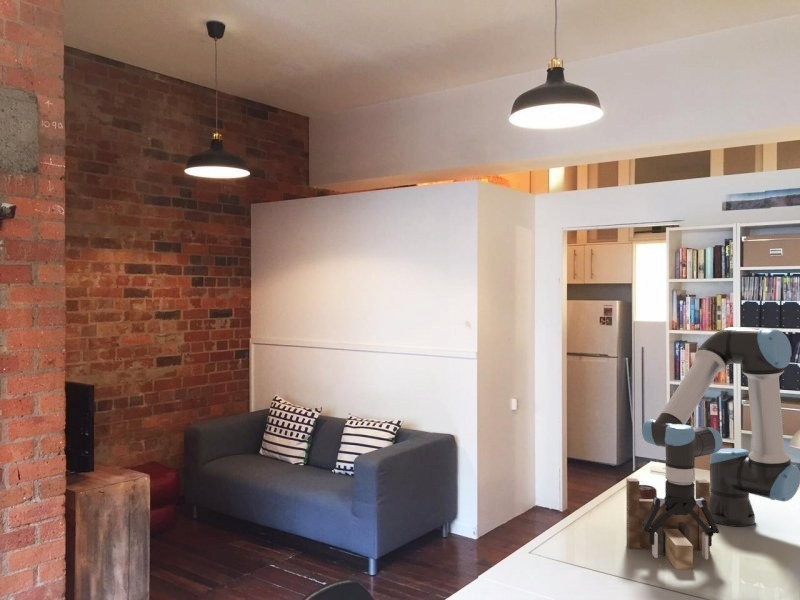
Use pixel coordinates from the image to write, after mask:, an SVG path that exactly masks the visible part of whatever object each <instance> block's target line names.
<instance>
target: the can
mask: <svg viewBox="0 0 800 600" xmlns="http://www.w3.org/2000/svg"><path fill="white" fill-rule="evenodd" d="M657 492H658V491H657V489H656V488H655V487H654V486H652V485H648V484H639V499H654V497H655V496H656V497H658V495H657V494H658V493H657Z"/></svg>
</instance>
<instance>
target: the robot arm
mask: <svg viewBox="0 0 800 600" xmlns="http://www.w3.org/2000/svg"><path fill="white" fill-rule="evenodd" d="M694 358H695V360H694V361H693V363H692V364H691V367H690V368H689V370H688V371H687V373H686V375H684V377H683V378H682V380H681V382H680V383H679V385H678V387H677V388H676V389H675V391H674V392H673V394H672V396H671V397H670V399H669V400H668V402H667V403H666V405H665V406H664V408H663V410H662V411H661V413H660V414H659V416H658V417H657V418H653V419H651V418H650V419H647V420H646V421H645V422H644V423H643V425H642V427H641V428H642V429H641V436H642V438H643V440H644V441H645V442H646V443H648V444H651V445H654V446H657V447H661V448H662V447H663V448H665V479H666V480H665V483H664V484H665V485H664V486H665V488H664V489H665V490H664V491H665V492H664V493H665V496H664V498H661V497H658V496H657V497H656V496H655V497H654V499H653V505H652V507H651V509H650V511H649V512H648V514H647V516H646V518H645V520H644V522H643V524H642V528H643V530H644V531H646V532H648V533H649V543H650V545H652V549H651V553H652V557H654V559H658V558H659V557H658V556H659V555H658V535H657V533H656V531H657V530H658V529H659V528H660V526H661V525H662V524H663V523H664V522H665V521H666V520H667V519H668V518H669V517H670V516H671V515H672V514H675V515H688V514H689V513H690V515H691V516H692V517H693V518H694V519H695V520H696V521H697V523H698V524H699V525H700V526H701V527H702V528H703V530H704V531H705V532H702V551H701V556H702V557H703V559H705V560H709V551H708V546H710V547H712V546H713V544H712V543H713V541H712V540H713V539H712V538H713V536H714V534H719V533H720V530H719V528H718V526H717V524H719V525H723V526H730V527H748V526H752V525H754V524H755V522H756V514H755V512H754V509H753V505H752V503H751V500H750V494H752V495H755V496H758V497H762V498H764V499H765V498H766V499H770V500H771V501H778V502H788V501H790V500H791V499H792V498H793V497H795V495H796V493H797V491H798V490H799V487H800V469H799V467H798V466H796V465H795V464H792V461H791V459H792V458H791V455H790V454H789V453H787V452H786V451H785V441H784V429H783V415H782V403H781V400H782V399H781V390H780V376H781V375H782V374H783V373H784V372H785V368H786V367H788V366H789V365H790V362H791V358H792V345H791V343H790V340H789V338H788V337H787V335H786V334H785V333H784V332H782V330H779V329H776V328H775V329H774V328H768V327H743V326H742V327H740V326H730V327H726V328H723V329H721V330H718V331H716V332H715V333H714V334H712V335H711V336H709V338H707V339H705V340H704V342H703V343H702V344H701V345H700V347H699V348H698V350H697V351H696V353H695V354H694ZM731 364H738V365H740V366H741V373H742V374H744V376H746V377H747V387H748V402H749V412H750V413H749V414H750V426H751V439H752V451H749V450H748V449H745V448H736V447H733V448H732V447H729V448H728V447H726V448H722V447H723V436H722V434H721V433H720V432H719V431H718V430H717V429H716V428H714V427H709V426H708V427H706V426H702V427H695V426H691V425H688V424H687V422H688V421H689V419H690V418H691V416H692V415H693V413H694V412H695V410H696V408H698V405H699V404H700V402H701V400H702V399H703V397H704V396H705V394H706V392H707V391H708V389H709V388H710V386H711V385H712V383H713V382H714V380H715V378H716V376H717V375H718V373H720V372H723V371H724V370H725V369H726V368H727V366H728V365H731ZM702 456H710V457H709V463H708V464H709V482H710V512H709V510H708V508H707V501H706V500H705V499H704V498H702V497H701V498H699V499H696V483H694V482H696V479H695V475H696V473H695V461H696V459H695V458H699V457H702ZM663 503H665V505H666V507H665V508H664V510H663V512H662V513H661V514H660V515H659V516H658V517H657V519H656V520H655V521H654V522H653V520H654V518H655V516H656V514H657V512H658V510H659V508H660V506H662V504H663ZM696 504H698V506H699V507H701V509H702V511H703V513H704V515H705V517H706V519H707V521H708V523H709V525H710V528H708V527H707V526H706V525H705V524H704V522H703V521H702V520H701V519H700V518H699V517H698V515H697V514H696V513H695V512H694V511H693V508H694V507H695V505H696ZM652 522H653V523H652Z"/></svg>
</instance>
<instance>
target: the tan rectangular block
mask: <svg viewBox="0 0 800 600" xmlns="http://www.w3.org/2000/svg"><path fill="white" fill-rule="evenodd" d="M663 555H665V556H666V558H667V559H668V560H669V562H670V564H672V566H673V567H674V568H675V570H694V550H693V545H692V544H691V543H690V542H689V541H688V540H687V539H686V538H685V536H684V535H683V534H682V533H681V532H680V531H679V530H678V527H663Z"/></svg>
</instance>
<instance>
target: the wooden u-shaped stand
mask: <svg viewBox="0 0 800 600" xmlns="http://www.w3.org/2000/svg"><path fill="white" fill-rule="evenodd" d="M625 481H626V482H625V483H626V484H625V485H626V486H625V487H626V491H625V492H626V498H625V499H626V546H627V548H628V549H629V550H630V549H631V550H633V549H634V550H640V549H650V550H652V545H650V543H649V533H648V532H646V531H644V530H643V528H642V524H643V522H644V520H645V518H646V516H647V514H648V512H649V511H650V509H651V507H652V505H653V499H639V485H640V480H639V479H638V478H631V477H629V478H626V480H625ZM701 497H702V498H704V499H705V500H706V501H707V508H708V510H709V512H710V481H708V480H707V479H695V499H699V498H701ZM665 507H666V505H665V503H663V504H662V506H660V508H659V510H658V512H657V514H656V516H655V518H654V520H653V522H654V521H655V520H656V519H657V517H658V516H659V515H660V514H661V513H662V512H663V510H664V508H665ZM693 511H694V512H695V513H696V514H697V515H698V517H699V518H700V519H701V520H702V521H703V522H704V524H705V525H706V526H707V527H708V528H711V527H710V525H709V523H708V521H707V519H706V517H705V515H704V513H703V511H702V509H701V507H699V506H698V504H696V505H695V507H694V508H693ZM653 522H652V523H653ZM663 527H678V530H679V531H680V532H681V533H682V534H683V535H684V536H685V538H686V539H687V540H688V541H689V542H690V543H691V544H692V545H693V551H695V550H696V551H701V552H702V532H705V531H704V530H703V528H702V527H701V526H700V525H699V524H698V523H697V521H696V520H695V519H694V518H693V517H692V516H691V515H690V513H689V514H688V515H675V514H672V515H671V516H670V517H669V518H668V519H667V520H666V521H665V522H664V523H663V524H662V525H661V526H660V528H659V529H658V530H657V531H656V533H657V535H658V556H664V553H663ZM710 551H711V546H708V552H710Z"/></svg>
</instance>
